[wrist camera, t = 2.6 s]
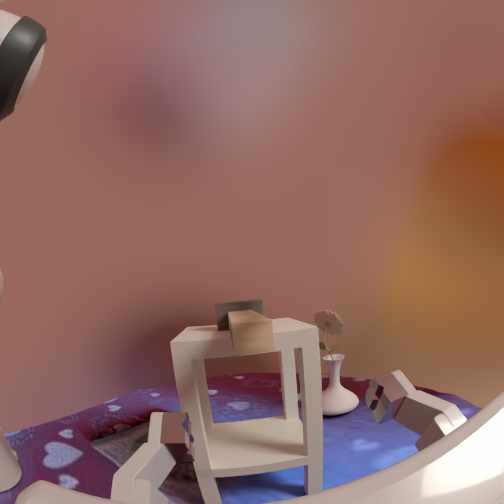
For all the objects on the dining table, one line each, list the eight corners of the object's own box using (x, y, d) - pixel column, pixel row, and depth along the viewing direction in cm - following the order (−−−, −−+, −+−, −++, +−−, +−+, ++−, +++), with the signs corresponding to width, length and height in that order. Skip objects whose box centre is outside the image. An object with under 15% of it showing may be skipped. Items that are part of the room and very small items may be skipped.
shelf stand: (207, 510, 23) (170, 342, 27) (209, 462, 36) (187, 327, 40) (321, 494, 25) (317, 326, 29) (297, 451, 38) (288, 317, 42)
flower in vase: (368, 408, 50) (365, 305, 54) (327, 424, 47) (321, 313, 51) (338, 394, 63) (333, 305, 66) (300, 406, 59) (293, 311, 63)
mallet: (214, 357, 19) (209, 311, 19) (218, 327, 37) (215, 303, 38) (294, 347, 20) (290, 303, 20) (260, 323, 38) (258, 299, 38)
